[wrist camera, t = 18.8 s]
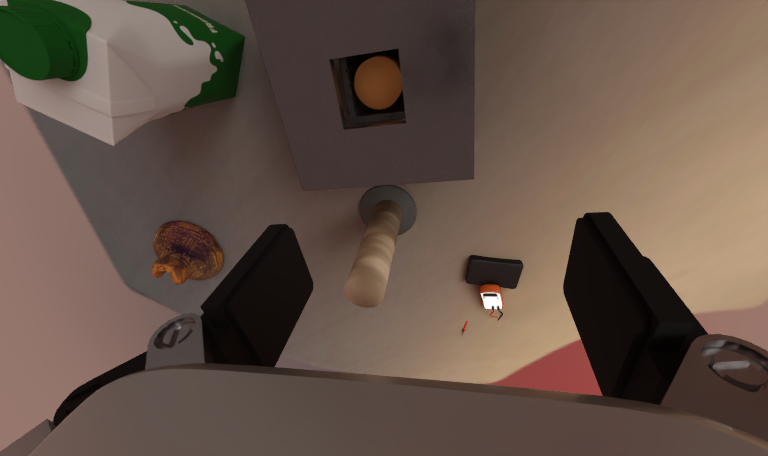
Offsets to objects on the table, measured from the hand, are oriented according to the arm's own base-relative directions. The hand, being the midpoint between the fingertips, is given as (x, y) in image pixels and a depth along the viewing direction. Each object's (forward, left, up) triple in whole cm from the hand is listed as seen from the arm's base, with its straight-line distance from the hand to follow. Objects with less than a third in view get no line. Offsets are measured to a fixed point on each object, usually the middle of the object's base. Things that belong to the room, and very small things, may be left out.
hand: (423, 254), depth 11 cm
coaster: (+8, +15, -30) cm, 34 cm away
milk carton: (+26, -7, -30) cm, 40 cm away
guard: (+6, -2, -30) cm, 30 cm away
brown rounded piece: (+43, +20, -30) cm, 57 cm away
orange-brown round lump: (+6, -2, -30) cm, 30 cm away
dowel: (+8, +15, -29) cm, 34 cm away
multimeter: (-7, +32, -31) cm, 45 cm away
